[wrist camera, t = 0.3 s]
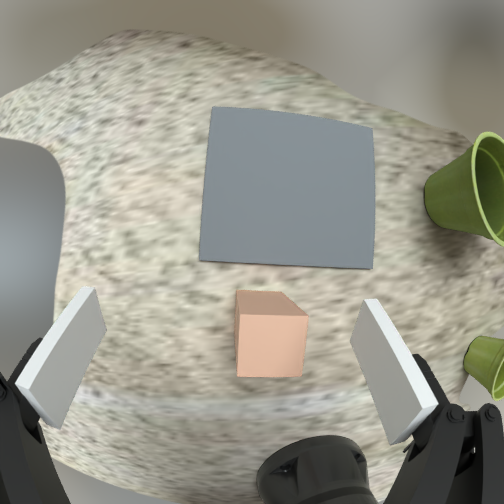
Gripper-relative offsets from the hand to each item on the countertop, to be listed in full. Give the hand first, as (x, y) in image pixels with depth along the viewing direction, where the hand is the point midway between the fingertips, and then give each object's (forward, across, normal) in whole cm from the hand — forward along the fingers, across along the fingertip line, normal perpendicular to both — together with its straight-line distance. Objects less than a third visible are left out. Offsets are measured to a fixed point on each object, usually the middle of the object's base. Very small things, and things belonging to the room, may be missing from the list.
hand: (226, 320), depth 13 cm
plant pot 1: (+19, -26, -3) cm, 32 cm away
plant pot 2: (+10, -38, +17) cm, 42 cm away
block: (+12, -3, +9) cm, 15 cm away
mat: (+18, -6, -3) cm, 19 cm away
